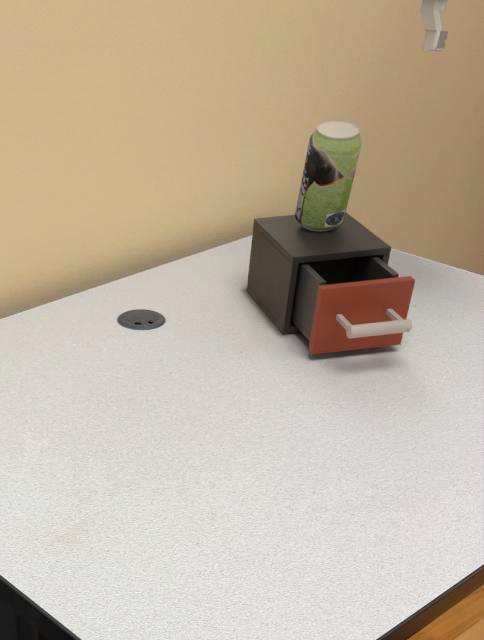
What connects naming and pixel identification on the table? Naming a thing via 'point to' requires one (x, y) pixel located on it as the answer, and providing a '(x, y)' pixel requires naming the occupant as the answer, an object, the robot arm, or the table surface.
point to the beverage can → (328, 175)
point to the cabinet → (299, 259)
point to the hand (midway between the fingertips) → (469, 51)
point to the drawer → (351, 304)
